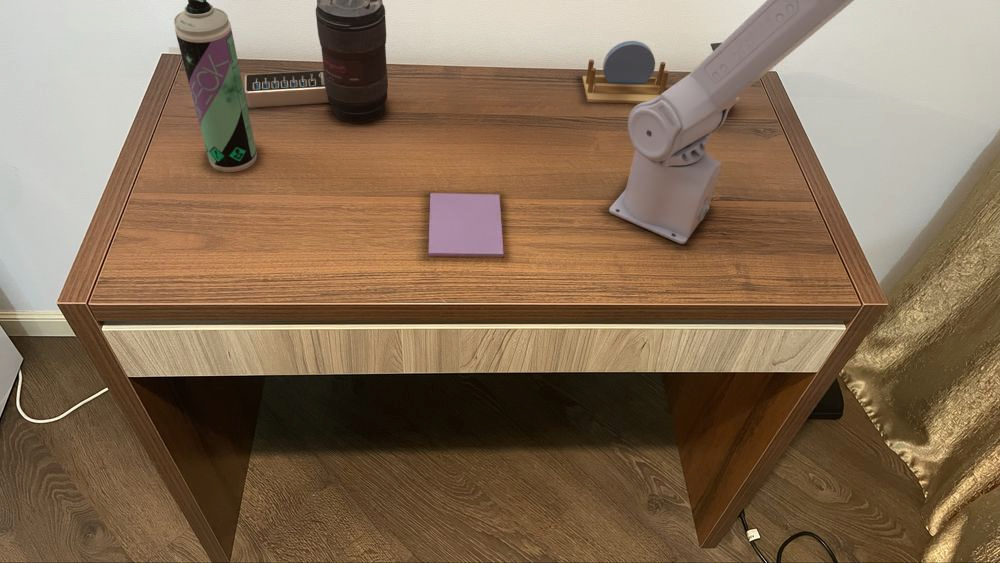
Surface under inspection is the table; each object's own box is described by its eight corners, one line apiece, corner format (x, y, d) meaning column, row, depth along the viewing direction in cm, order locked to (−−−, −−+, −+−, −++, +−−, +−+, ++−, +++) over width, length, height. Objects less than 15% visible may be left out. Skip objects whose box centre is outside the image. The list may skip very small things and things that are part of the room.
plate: (648, 87, 106) (658, 41, 101) (649, 91, 105) (660, 45, 100) (599, 85, 106) (607, 39, 101) (600, 89, 105) (608, 43, 100)
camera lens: (323, 126, 96) (309, 14, 85) (331, 91, 101) (318, -18, 90) (387, 128, 96) (382, 17, 85) (391, 93, 102) (386, -15, 91)
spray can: (211, 145, 91) (170, -16, 77) (258, 143, 92) (226, -17, 78) (207, 173, 88) (163, 9, 73) (256, 170, 89) (222, 8, 74)
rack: (657, 81, 108) (664, 56, 106) (666, 104, 104) (672, 78, 101) (582, 78, 108) (586, 53, 105) (587, 102, 103) (591, 76, 100)
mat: (430, 196, 87) (430, 192, 87) (499, 197, 88) (499, 194, 88) (428, 256, 80) (428, 252, 80) (503, 257, 81) (503, 254, 81)
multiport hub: (247, 89, 100) (244, 74, 99) (332, 84, 102) (330, 69, 101) (247, 108, 97) (244, 92, 96) (334, 102, 99) (332, 87, 98)
